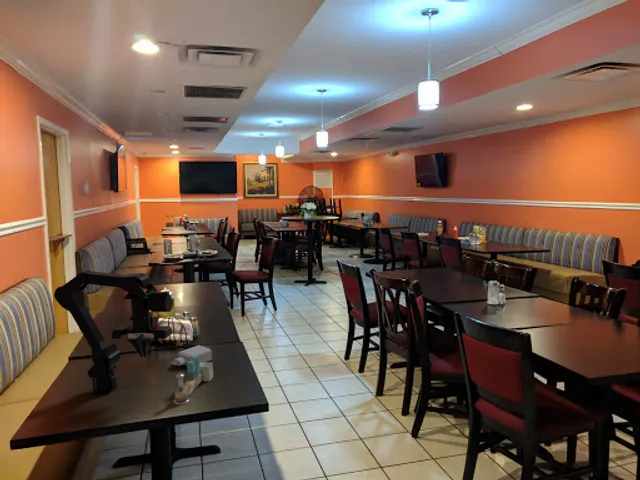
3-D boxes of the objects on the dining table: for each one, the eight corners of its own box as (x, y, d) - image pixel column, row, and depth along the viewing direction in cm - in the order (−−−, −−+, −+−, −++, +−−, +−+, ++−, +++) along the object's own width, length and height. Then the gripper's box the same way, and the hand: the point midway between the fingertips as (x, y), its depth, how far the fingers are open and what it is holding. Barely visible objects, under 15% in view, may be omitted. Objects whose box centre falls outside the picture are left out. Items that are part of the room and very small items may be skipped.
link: (185, 402, 149) (183, 375, 148) (173, 401, 149) (171, 374, 148) (208, 375, 170) (207, 351, 169) (198, 375, 170) (196, 351, 169)
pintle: (170, 404, 149) (168, 378, 148) (177, 396, 154) (175, 371, 153) (186, 404, 148) (184, 378, 147) (192, 397, 154) (191, 371, 152)
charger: (165, 367, 180) (197, 355, 191) (179, 373, 174) (212, 360, 186) (164, 355, 179) (197, 344, 191) (178, 360, 174) (211, 349, 185)
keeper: (193, 380, 166) (192, 366, 166) (197, 376, 170) (197, 362, 170) (209, 381, 166) (208, 366, 165) (213, 376, 170) (212, 362, 169)
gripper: (177, 305, 162) (180, 349, 164) (126, 305, 165) (129, 348, 166) (163, 314, 151) (166, 361, 153) (108, 314, 154) (112, 360, 155)
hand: (143, 357), depth 157 cm, fingers closed
